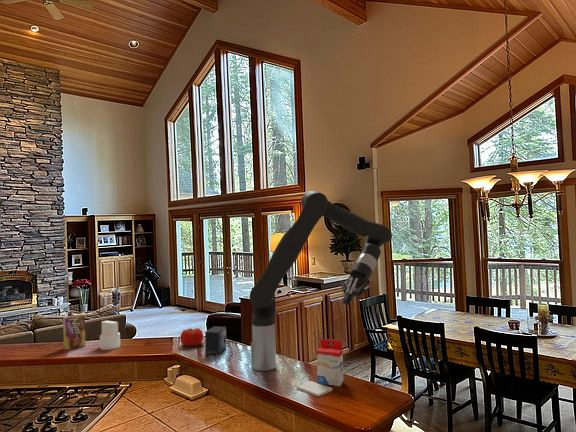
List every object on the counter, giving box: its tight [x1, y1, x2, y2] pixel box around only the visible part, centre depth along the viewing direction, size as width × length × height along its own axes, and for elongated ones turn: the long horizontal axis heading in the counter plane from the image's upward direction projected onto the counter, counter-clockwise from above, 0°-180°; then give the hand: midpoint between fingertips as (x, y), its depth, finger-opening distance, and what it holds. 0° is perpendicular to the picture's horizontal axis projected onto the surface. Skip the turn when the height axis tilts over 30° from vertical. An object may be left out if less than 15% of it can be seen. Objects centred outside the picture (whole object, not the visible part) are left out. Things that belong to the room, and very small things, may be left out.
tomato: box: [179, 327, 204, 347], centre depth 204 cm, size 11×11×8 cm
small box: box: [204, 325, 227, 357], centre depth 191 cm, size 11×6×10 cm, turn 168°
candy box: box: [62, 313, 86, 351], centre depth 205 cm, size 9×4×15 cm, turn 133°
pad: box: [296, 380, 333, 397], centre depth 144 cm, size 10×7×1 cm
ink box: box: [316, 338, 344, 387], centre depth 150 cm, size 8×5×15 cm, turn 68°
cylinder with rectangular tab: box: [99, 320, 121, 351], centre depth 204 cm, size 9×9×12 cm
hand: (345, 303), depth 157 cm, fingers closed
